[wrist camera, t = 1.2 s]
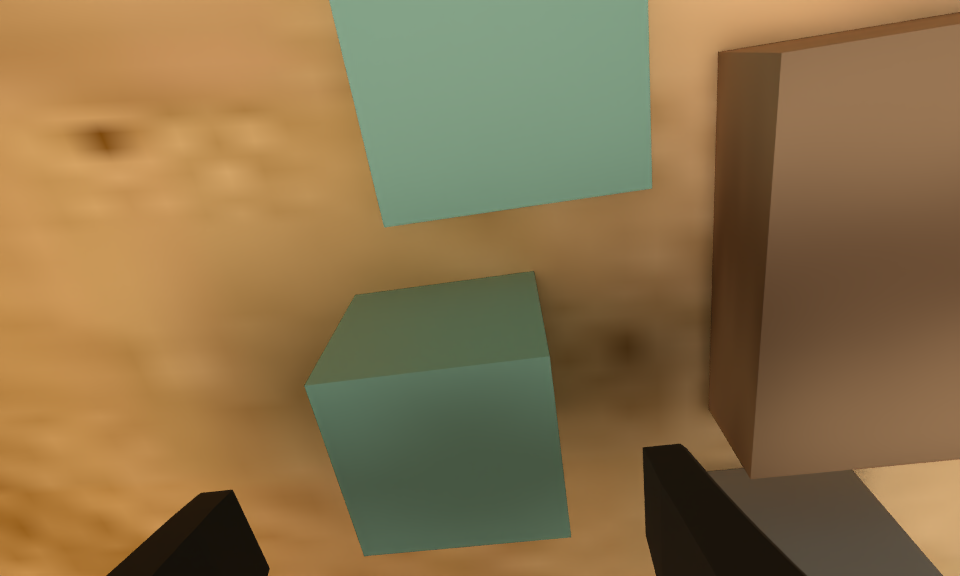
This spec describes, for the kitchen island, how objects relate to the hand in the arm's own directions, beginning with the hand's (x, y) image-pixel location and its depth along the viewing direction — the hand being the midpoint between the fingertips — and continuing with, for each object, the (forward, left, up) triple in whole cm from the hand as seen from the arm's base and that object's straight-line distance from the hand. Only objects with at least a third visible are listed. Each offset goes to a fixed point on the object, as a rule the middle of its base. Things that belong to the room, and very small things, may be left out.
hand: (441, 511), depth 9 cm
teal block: (0, 0, -5) cm, 5 cm away
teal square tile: (+7, -2, -5) cm, 9 cm away
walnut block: (+2, -11, -6) cm, 12 cm away
